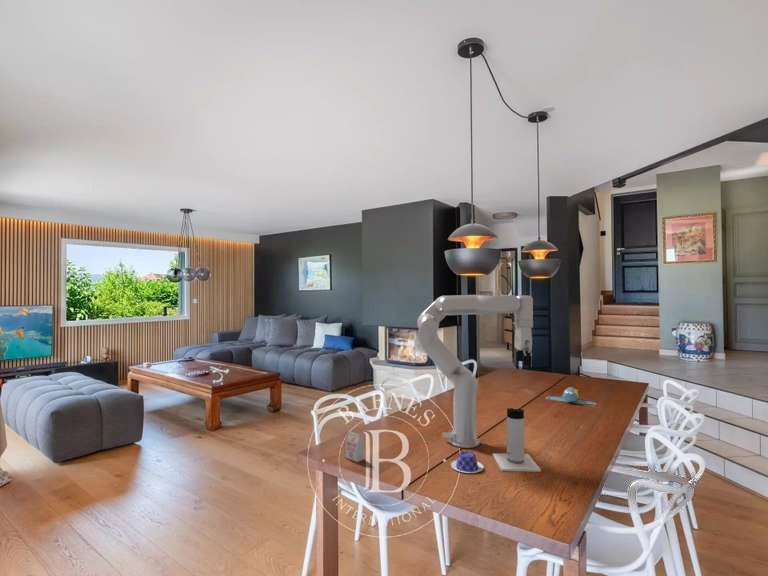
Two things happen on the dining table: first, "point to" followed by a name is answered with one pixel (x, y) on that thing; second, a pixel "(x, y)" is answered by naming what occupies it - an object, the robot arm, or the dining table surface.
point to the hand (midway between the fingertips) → (523, 363)
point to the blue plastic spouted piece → (570, 397)
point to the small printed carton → (354, 447)
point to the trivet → (508, 466)
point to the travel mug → (515, 435)
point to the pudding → (467, 463)
